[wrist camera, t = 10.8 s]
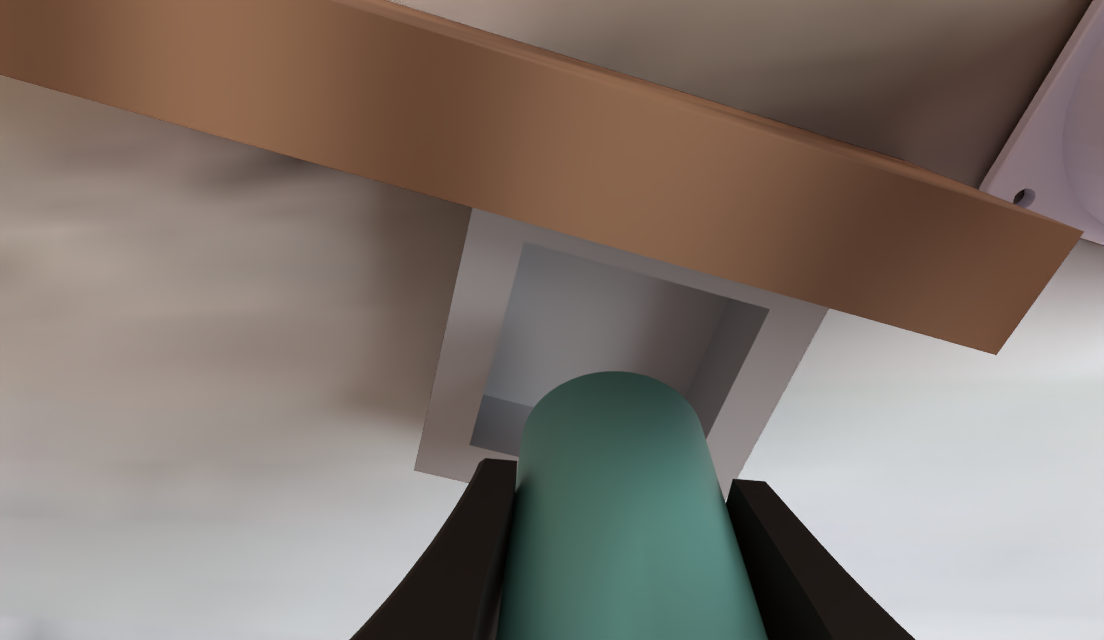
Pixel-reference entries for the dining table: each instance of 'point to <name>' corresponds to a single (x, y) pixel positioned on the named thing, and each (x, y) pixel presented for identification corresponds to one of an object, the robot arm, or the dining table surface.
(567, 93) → the rail
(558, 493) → the dowel
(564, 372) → the socket block
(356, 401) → the dining table surface
